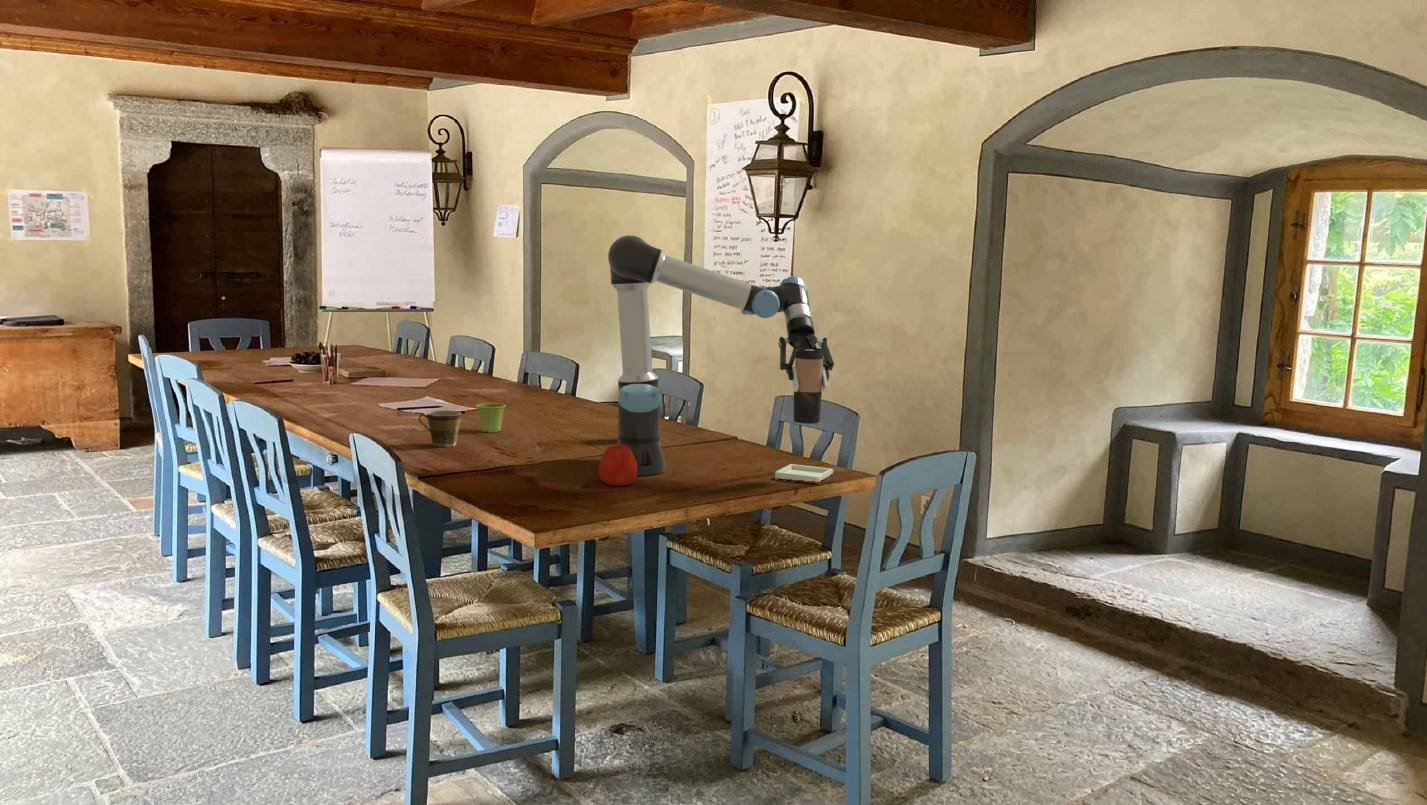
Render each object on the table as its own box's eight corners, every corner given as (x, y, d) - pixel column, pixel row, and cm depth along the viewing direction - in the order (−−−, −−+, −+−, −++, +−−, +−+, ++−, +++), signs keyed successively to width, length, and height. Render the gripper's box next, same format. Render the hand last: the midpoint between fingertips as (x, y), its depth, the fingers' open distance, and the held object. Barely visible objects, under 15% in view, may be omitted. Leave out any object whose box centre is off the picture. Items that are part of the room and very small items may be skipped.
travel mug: (825, 421, 304) (828, 349, 301) (813, 424, 298) (816, 351, 295) (800, 418, 308) (803, 346, 305) (787, 421, 302) (790, 349, 299)
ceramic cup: (465, 443, 340) (465, 411, 338) (455, 449, 330) (454, 416, 328) (424, 441, 341) (424, 409, 339) (413, 447, 331) (412, 414, 330)
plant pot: (473, 429, 363) (473, 403, 362) (501, 428, 367) (501, 402, 366) (480, 434, 355) (480, 407, 354) (509, 433, 359) (509, 406, 358)
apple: (617, 477, 299) (618, 439, 297) (645, 483, 293) (646, 444, 291) (590, 483, 291) (591, 444, 290) (618, 489, 285) (619, 449, 283)
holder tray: (818, 484, 297) (818, 477, 297) (774, 479, 302) (775, 471, 302) (832, 475, 308) (833, 468, 308) (790, 470, 313) (790, 463, 313)
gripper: (831, 332, 316) (844, 397, 303) (761, 331, 313) (771, 396, 299) (837, 315, 310) (850, 380, 297) (766, 314, 307) (776, 380, 293)
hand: (811, 388), depth 298 cm, fingers closed on travel mug, 7 cm apart
